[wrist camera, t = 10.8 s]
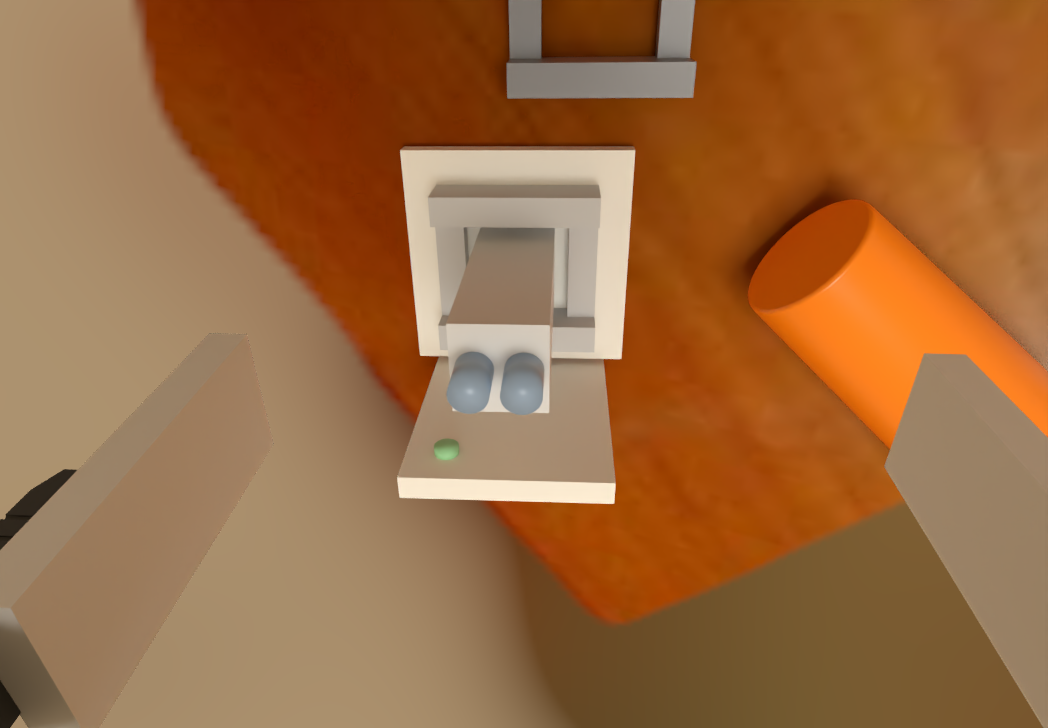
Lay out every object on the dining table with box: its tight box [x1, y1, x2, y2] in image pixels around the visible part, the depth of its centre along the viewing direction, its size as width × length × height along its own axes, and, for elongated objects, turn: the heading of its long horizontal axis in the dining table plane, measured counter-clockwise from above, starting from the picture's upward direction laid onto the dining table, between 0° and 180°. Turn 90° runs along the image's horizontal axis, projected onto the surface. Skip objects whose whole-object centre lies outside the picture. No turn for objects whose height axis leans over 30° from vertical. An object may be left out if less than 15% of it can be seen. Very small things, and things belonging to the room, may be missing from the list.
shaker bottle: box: [748, 199, 1048, 449], centre depth 35 cm, size 9×9×20 cm
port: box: [397, 146, 635, 504], centre depth 33 cm, size 14×12×12 cm
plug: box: [446, 227, 555, 415], centre depth 31 cm, size 4×4×14 cm
